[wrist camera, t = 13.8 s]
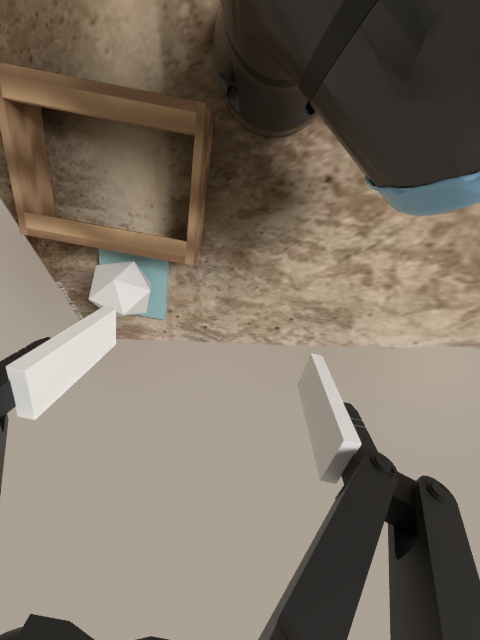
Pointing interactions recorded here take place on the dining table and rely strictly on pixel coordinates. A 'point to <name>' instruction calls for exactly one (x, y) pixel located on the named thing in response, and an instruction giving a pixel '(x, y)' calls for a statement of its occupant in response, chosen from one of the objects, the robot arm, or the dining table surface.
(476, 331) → the dining table surface
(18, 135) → the wooden tray
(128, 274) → the die
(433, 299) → the dining table surface
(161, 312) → the pad
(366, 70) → the robot arm
